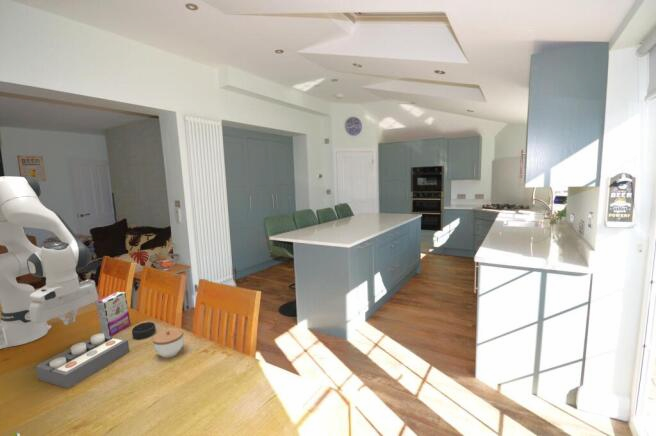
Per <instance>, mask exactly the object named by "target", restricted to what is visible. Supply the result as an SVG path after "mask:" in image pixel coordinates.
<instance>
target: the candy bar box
mask: <svg viewBox="0 0 656 436" xmlns="http://www.w3.org/2000/svg"><path fill="white" fill-rule="evenodd" d="M95 304H96V311H97V316H98V322H99V326H100V333H103V334H104V335H105V336H110V337H114V336H115V335H116V334H118V333H120V332H121V331H123V330H124V329H126V328H127V327H129V326H130V325H131V319H130V311H129V307H128V301H127V295H126V291H116V292H114V293H111V294H109V295H108V296H105V297H103V298H101V299H98V300H97V302H95Z"/></svg>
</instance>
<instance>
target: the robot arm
mask: <svg viewBox="0 0 656 436" xmlns="http://www.w3.org/2000/svg"><path fill="white" fill-rule="evenodd" d="M41 193H42V189H41V185H40V183H39V181H38V180H37V179H36V178H35V177H31V176H24V175H23V176H8V175H6V176H5V175H4V176H0V246H2V247H3V246H4V247H6V249H7V252H5V253H0V307H1V311H0V350H2V349H6V348H11V347H16V346H20V345H21V346H22V345H25V344H28V343H31V342H33V341H36V340H39V339H40V338H42V337H44V336H46V335H47V334H48V332H49V331H50V330H51V329H52V328H53V327H52V325H50V324H48V321H50V320H53V319H55V318H59V319H60V320H61V321H62V322H63V325H65V326H69V325H70V324H72V323H75V322H76V316H77V314H78V310H79V309H82V308H84V307H86V306H89V305H91V304H95V303H96V302H97V301H99V294H98V291H97V288H96V282H95V280H93V279H89V278H88V279H86V280H82V281H79V277H78V273H77V271H79V270H84V269H86V267H87V266H89V264H90V263H91V261H92V260H93V259H92V258H93V257H92V256H93V255H92V253H91V252H92V251H90V249H89V248H88V246H87V245H86V244H84V243H83V242H82V240H80V238H79V237H78V236H77V234H75V232H74V231H73V230H72V229H71V227H70V226H69V225H68V223H67V222H66V221H65V219H64V218H63V217H62V216H61V215H60V214H59V213H58V212H55V211H53V210H51V209H49V208H47V207H46V206H45V205H43V203H42V202H41V201H40V199H39V198H40V197H41ZM24 228H27V229H28V228H29V229H40V230H45V231H49V232H52V233H53V234H55V236H56V237H57V238H58V239H59V240H60V241H53V242H48V243H45V244H44V245H43V246H42V247H38V246H36V245H35V244H34V243H32V242H31V241H30V240H29V239H28V237H27V236H26V233H25V230H24ZM29 274H30V275H31V276H33V277H36V278H44V277H45V285H44V286H42V287H41V288H39V289H37V290H36V289H35V288H34V286H33V285H30V284H28V283H20V282H19V283H18V281H17V278H18V277H22V276H25V275H29ZM68 313H70V316H69V317H67V314H68ZM66 317H67V318H66Z"/></svg>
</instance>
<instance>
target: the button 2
mask: <svg viewBox="0 0 656 436" xmlns="http://www.w3.org/2000/svg"><path fill="white" fill-rule="evenodd" d="M84 342H85V341H83V342H77V343H75V344H73V345H72V346H71V347H70V349H71V353H72V355H75V356H77V357H78V356H80V355H82V354H84V353H86V352H87V349H86V343H84Z"/></svg>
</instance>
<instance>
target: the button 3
mask: <svg viewBox="0 0 656 436" xmlns="http://www.w3.org/2000/svg"><path fill="white" fill-rule="evenodd" d="M90 339H91V345H96V347H97V346H99V345H101V344H103V343H104V342H105V337H104V334H103V333H101V332H99V333H96V334H93V335H91V336H90Z"/></svg>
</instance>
